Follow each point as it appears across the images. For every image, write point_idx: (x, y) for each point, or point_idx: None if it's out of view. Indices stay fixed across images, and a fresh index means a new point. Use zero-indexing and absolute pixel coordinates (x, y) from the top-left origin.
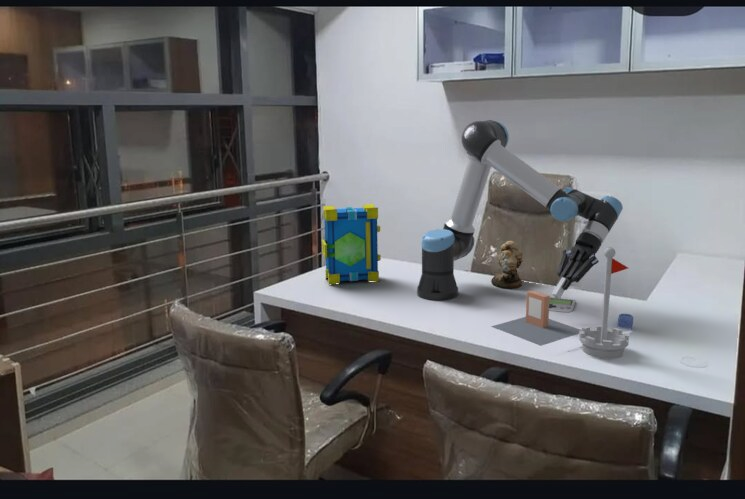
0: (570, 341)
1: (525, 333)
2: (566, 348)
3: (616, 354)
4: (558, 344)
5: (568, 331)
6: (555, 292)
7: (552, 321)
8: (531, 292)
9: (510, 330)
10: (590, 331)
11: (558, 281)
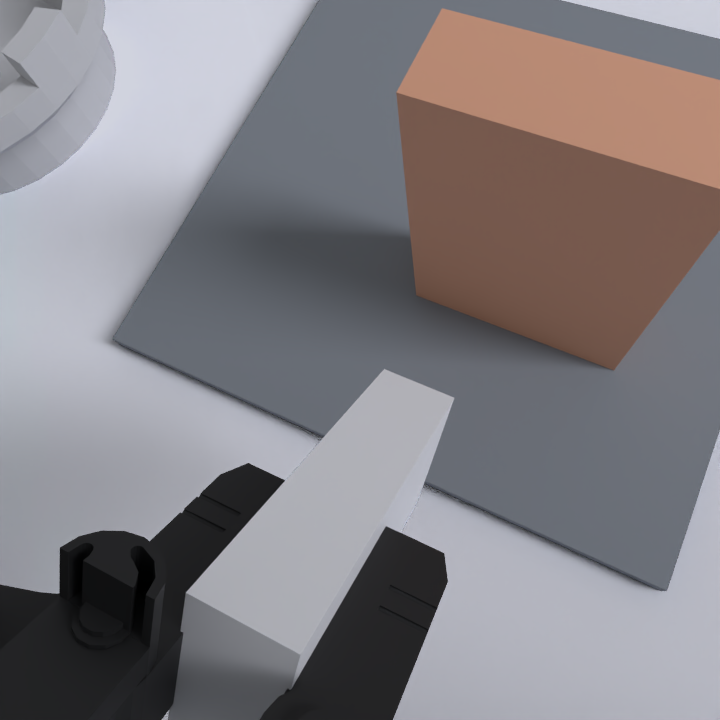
0: (200, 138)
1: None
2: (205, 26)
3: None
4: (263, 56)
5: (235, 265)
6: (395, 394)
7: None
8: (700, 100)
9: None
10: (19, 80)
11: (399, 628)
